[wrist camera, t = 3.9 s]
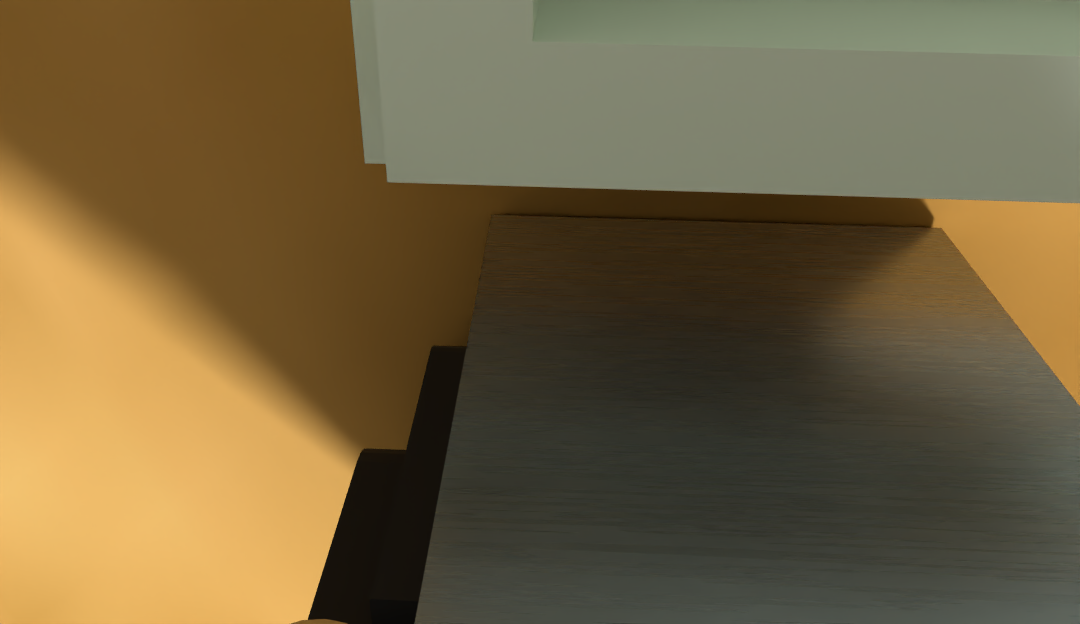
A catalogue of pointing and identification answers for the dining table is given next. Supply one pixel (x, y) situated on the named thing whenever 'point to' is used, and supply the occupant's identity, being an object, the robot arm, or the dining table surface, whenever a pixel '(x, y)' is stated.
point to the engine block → (750, 434)
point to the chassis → (726, 95)
